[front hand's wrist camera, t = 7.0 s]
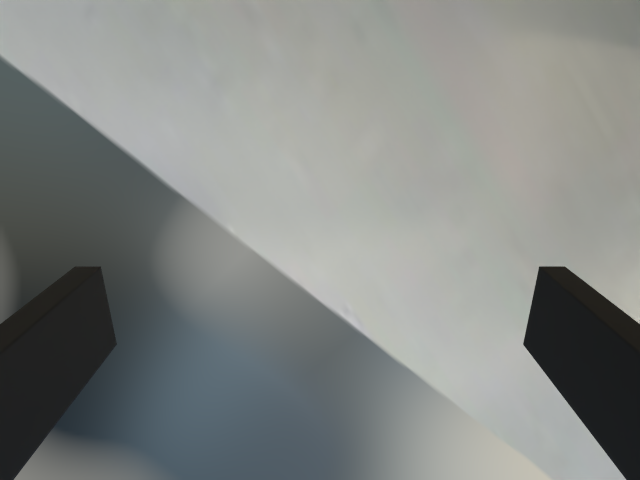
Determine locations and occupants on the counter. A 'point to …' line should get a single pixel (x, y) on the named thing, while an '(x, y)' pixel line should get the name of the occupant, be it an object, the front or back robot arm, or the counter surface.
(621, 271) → the counter surface
